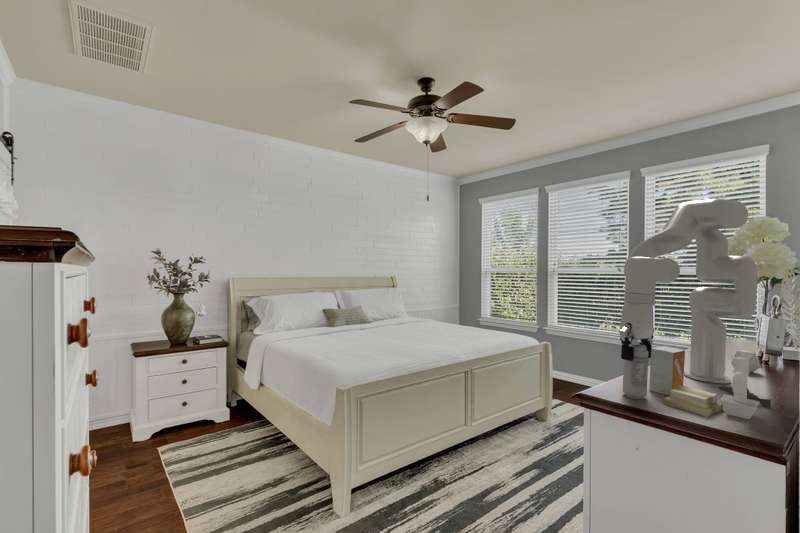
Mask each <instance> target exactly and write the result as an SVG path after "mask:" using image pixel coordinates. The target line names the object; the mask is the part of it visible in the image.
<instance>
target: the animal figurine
mask: <svg viewBox="0 0 800 533" xmlns="http://www.w3.org/2000/svg"><path fill="white" fill-rule="evenodd" d="M718 389H719V390H720V392H722V393H724V394H726V395H731V396H734V393H733V386H727V385H723V384H722V385H720V386H719V385H718ZM747 399H750V400H755V401H760V403H759V405H760V406H764V407H765V408H766V407H767V408H771V405H772V403H771V402H772V399H770V398H768V399H767V398H761V397H759V396H758V395H755V394H754V393H753V392H750V389H749V388H748V386H747Z"/></svg>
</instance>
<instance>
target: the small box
mask: <svg viewBox="0 0 800 533" xmlns="http://www.w3.org/2000/svg"><path fill="white" fill-rule="evenodd" d="M685 358H686V350H685V349H680V348H676V347H671V346H670V347H669V346H664V345H663V346H657V347H654V348H653V347H652V349H651V358H650V362H649V364H650V365H649V384H648V385H649V386H648V387H649V388H648V390H649V391H651V392H655V393H659V394H662V395H666V396H668V397H670V390H672V389H675V388H678V387H682V386H684V378H685V375H684V371H685V360H686V359H685Z"/></svg>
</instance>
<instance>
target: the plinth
mask: <svg viewBox="0 0 800 533" xmlns="http://www.w3.org/2000/svg"><path fill="white" fill-rule="evenodd" d="M718 396H719V395H718V394H717V393H713V392H709V391H704V390H701V389H699V388H698V389H697V388H693V387H689V386H685V385H683V386H682V387H678V388H675V389H672V390H670V396H668V397H665V398H663V404H664V405H666V406H669V407H673V408H677V409H679V410H682V411H683V410H684V411H687V412H690V413H693V414H697V415H700V416H703V417H710V416H712V415H714V414H716V413H719V412H721V411H724V410H723V409H724V407H723V405H722V403H721V402H718Z"/></svg>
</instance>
